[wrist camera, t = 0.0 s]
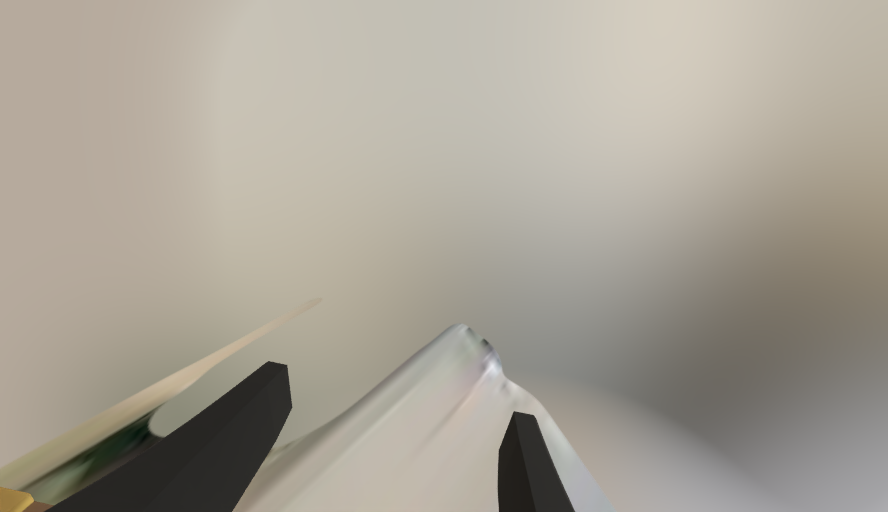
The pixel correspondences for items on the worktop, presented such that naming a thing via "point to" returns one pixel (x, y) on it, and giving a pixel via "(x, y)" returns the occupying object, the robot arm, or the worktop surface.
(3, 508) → the twin wooden rails
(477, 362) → the worktop surface
